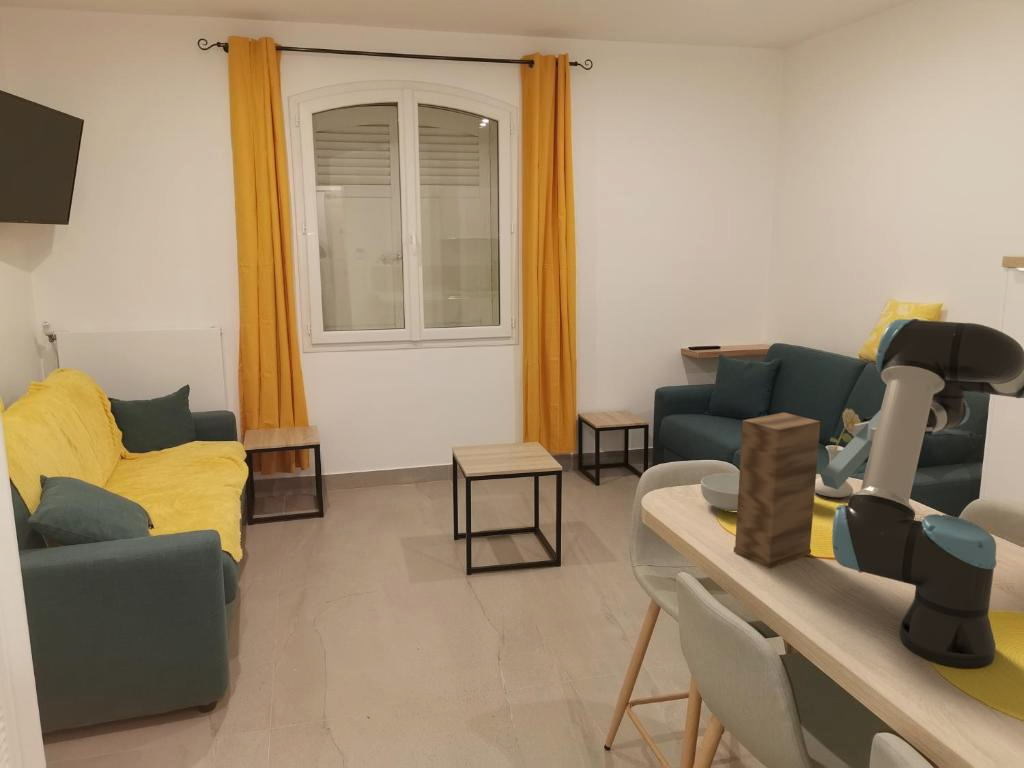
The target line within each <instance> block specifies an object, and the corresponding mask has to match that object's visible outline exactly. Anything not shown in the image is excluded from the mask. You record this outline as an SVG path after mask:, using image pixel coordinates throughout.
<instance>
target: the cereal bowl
mask: <svg viewBox="0 0 1024 768" xmlns="http://www.w3.org/2000/svg"><path fill="white" fill-rule="evenodd" d="M739 476H740V473H738V474H737V473H726V472H725V473H724V472H723V473H721V472H720V473H712V474H708V475H706V476H703V477H702V478H701V481H700V491H701V492H700V493H701V494H702V497H703V498H704V499H705V501H706V502H707V503H708V504H710V505H712V506H714V507H716V508H718V509H719V510H721V509H722V510H721V511H723V510H727V511H737V508H738V492H739ZM727 511H726V512H727Z"/></svg>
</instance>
